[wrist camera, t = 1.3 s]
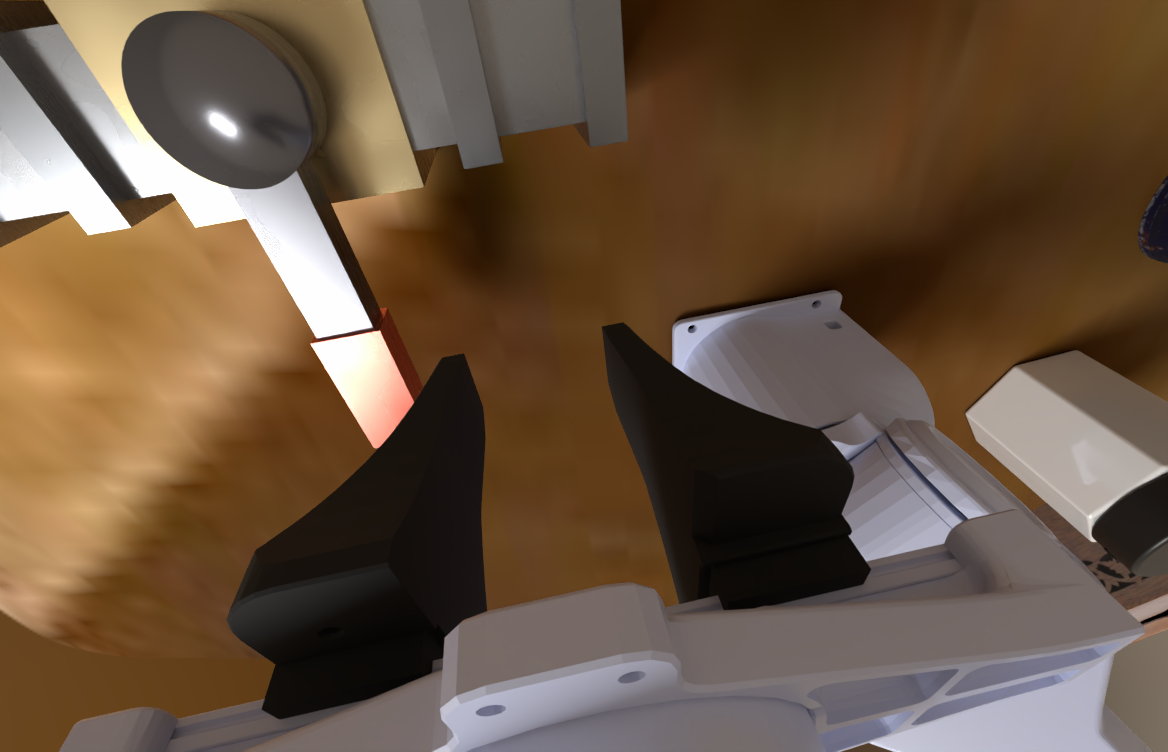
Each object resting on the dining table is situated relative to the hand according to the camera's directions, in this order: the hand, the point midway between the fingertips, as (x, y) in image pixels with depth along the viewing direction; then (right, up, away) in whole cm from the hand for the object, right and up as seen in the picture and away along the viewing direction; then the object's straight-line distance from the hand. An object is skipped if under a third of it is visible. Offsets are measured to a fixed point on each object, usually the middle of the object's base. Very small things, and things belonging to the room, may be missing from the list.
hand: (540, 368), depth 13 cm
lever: (-7, +3, +2) cm, 8 cm away
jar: (+34, -2, +22) cm, 40 cm away
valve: (-8, +10, +3) cm, 14 cm away
